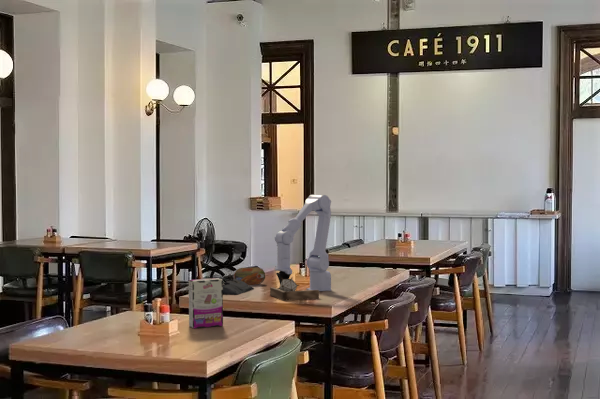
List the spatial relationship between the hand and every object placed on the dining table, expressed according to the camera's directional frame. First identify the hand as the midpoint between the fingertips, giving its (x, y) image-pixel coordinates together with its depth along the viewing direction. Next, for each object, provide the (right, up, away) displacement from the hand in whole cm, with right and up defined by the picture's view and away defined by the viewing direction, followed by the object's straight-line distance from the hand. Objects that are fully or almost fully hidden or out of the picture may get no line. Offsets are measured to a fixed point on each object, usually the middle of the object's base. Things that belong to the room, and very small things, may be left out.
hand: (283, 288), depth 345 cm
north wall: (+8, -3, -14) cm, 16 cm away
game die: (+2, -3, -6) cm, 7 cm away
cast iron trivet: (-24, -3, +8) cm, 25 cm away
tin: (-17, -2, +30) cm, 35 cm away
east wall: (-2, -3, -11) cm, 12 cm away
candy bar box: (-25, -5, -76) cm, 80 cm away
